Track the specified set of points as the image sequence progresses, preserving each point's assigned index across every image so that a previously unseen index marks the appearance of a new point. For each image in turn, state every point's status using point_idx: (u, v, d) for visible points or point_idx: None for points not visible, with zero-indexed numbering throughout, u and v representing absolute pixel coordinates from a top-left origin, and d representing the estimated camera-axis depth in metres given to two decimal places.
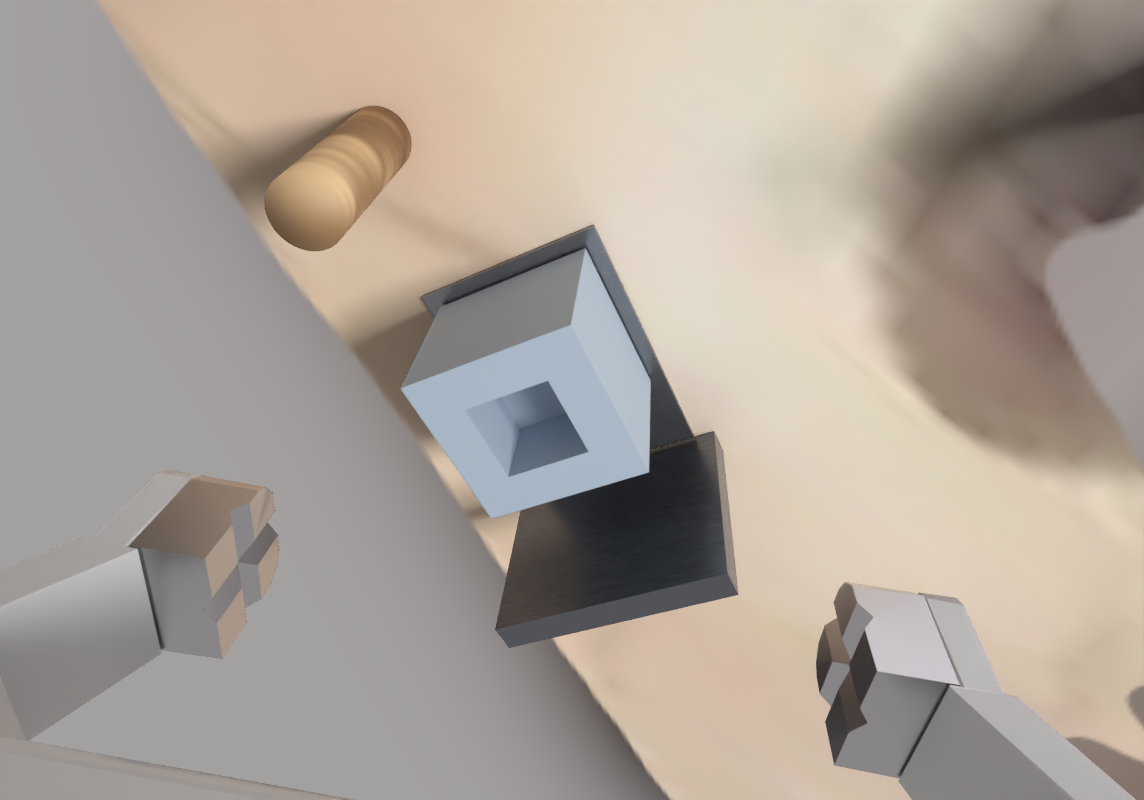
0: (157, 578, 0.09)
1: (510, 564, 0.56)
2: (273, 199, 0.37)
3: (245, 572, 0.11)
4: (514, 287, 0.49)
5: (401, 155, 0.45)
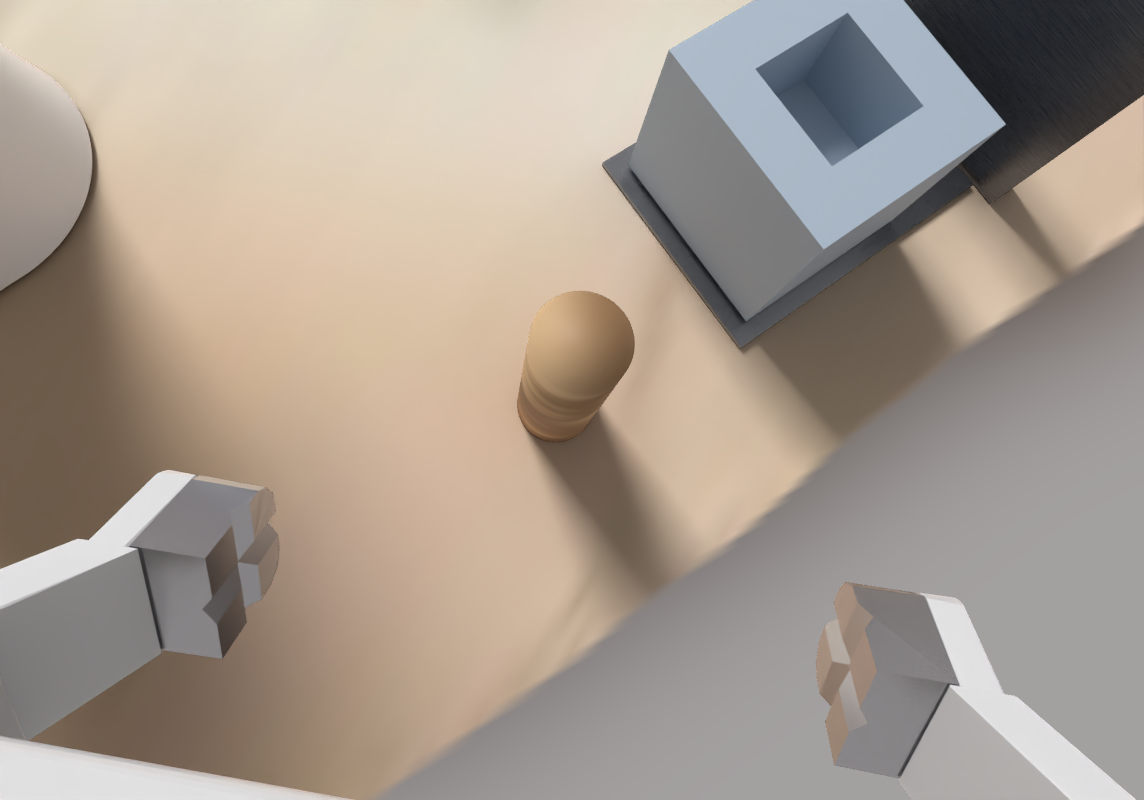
0: (157, 578, 0.09)
1: (1094, 126, 0.38)
2: (572, 381, 0.29)
3: (245, 572, 0.11)
4: (688, 219, 0.41)
5: None
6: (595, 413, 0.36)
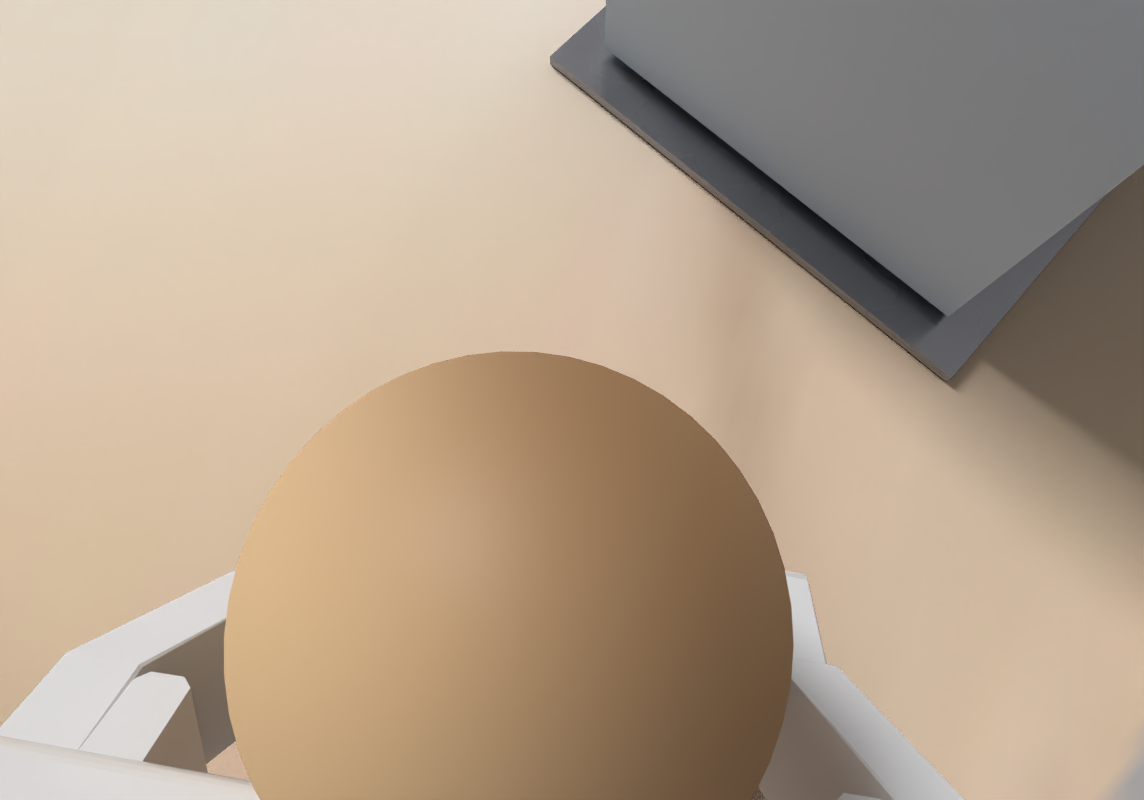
0: None
1: None
2: None
3: None
4: (765, 116, 0.17)
5: None
6: None
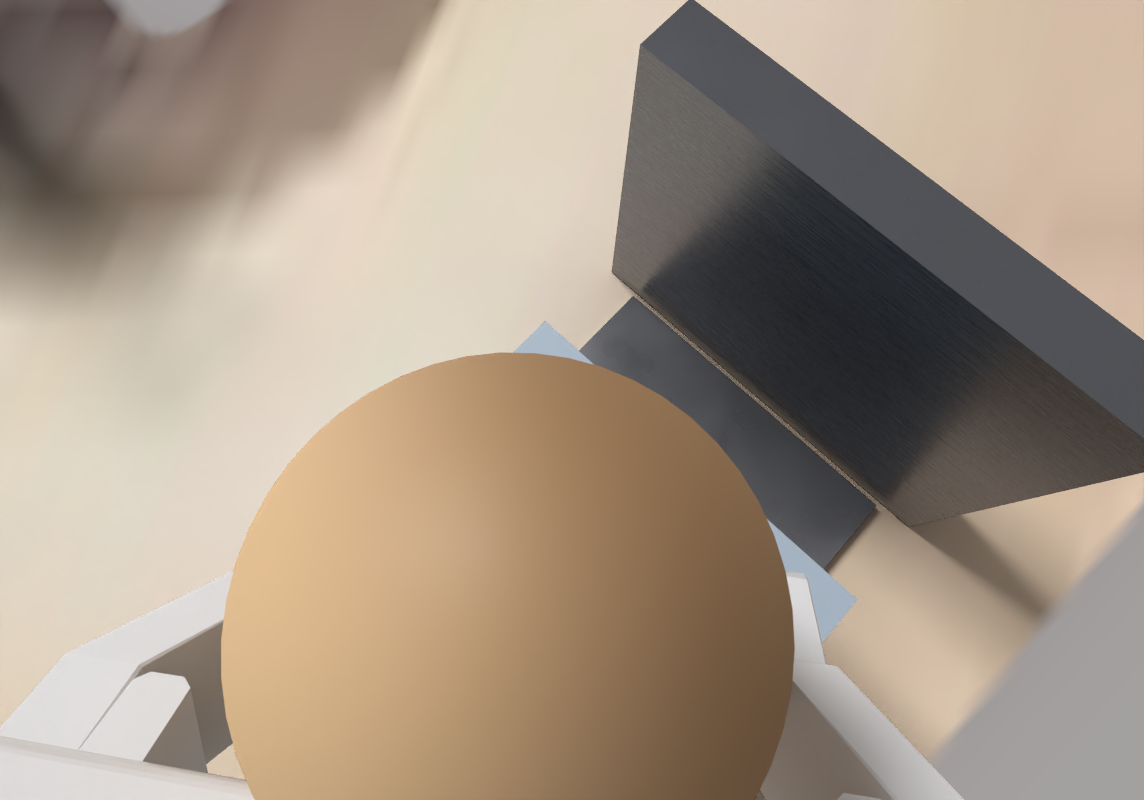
0: None
1: (1024, 496, 0.23)
2: None
3: None
4: None
5: None
6: None
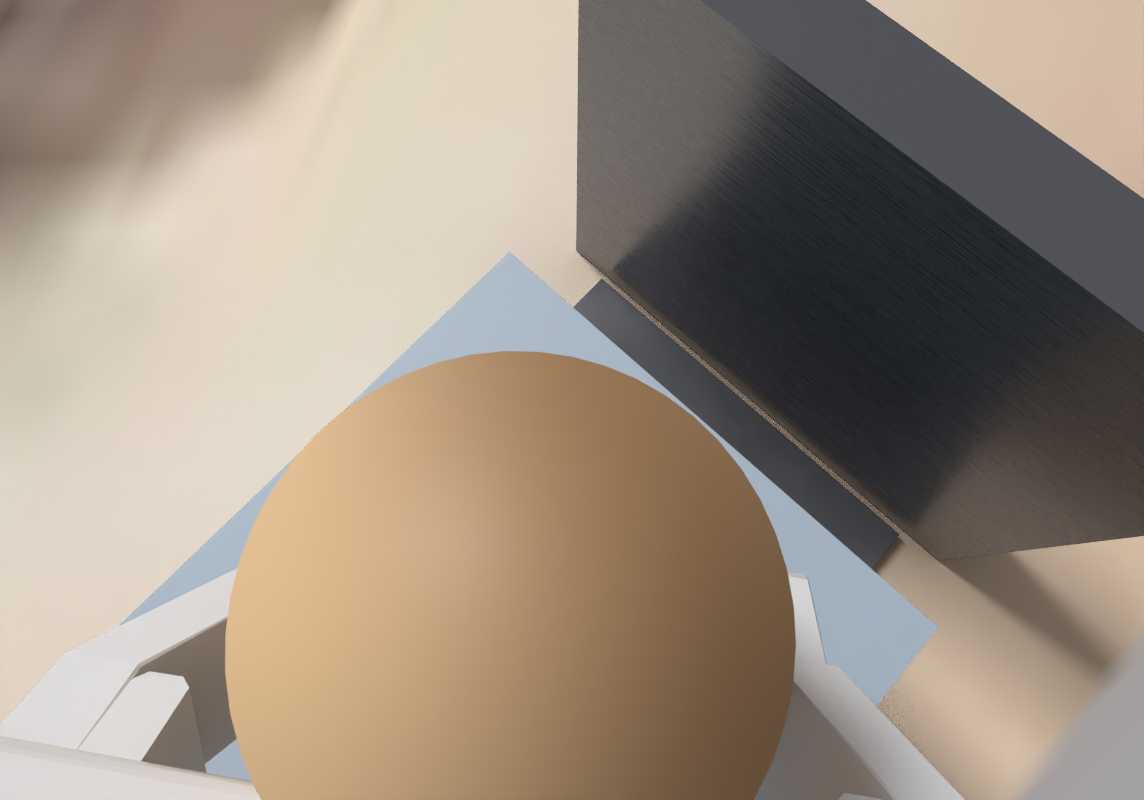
0: None
1: (1107, 535, 0.17)
2: None
3: None
4: None
5: None
6: None
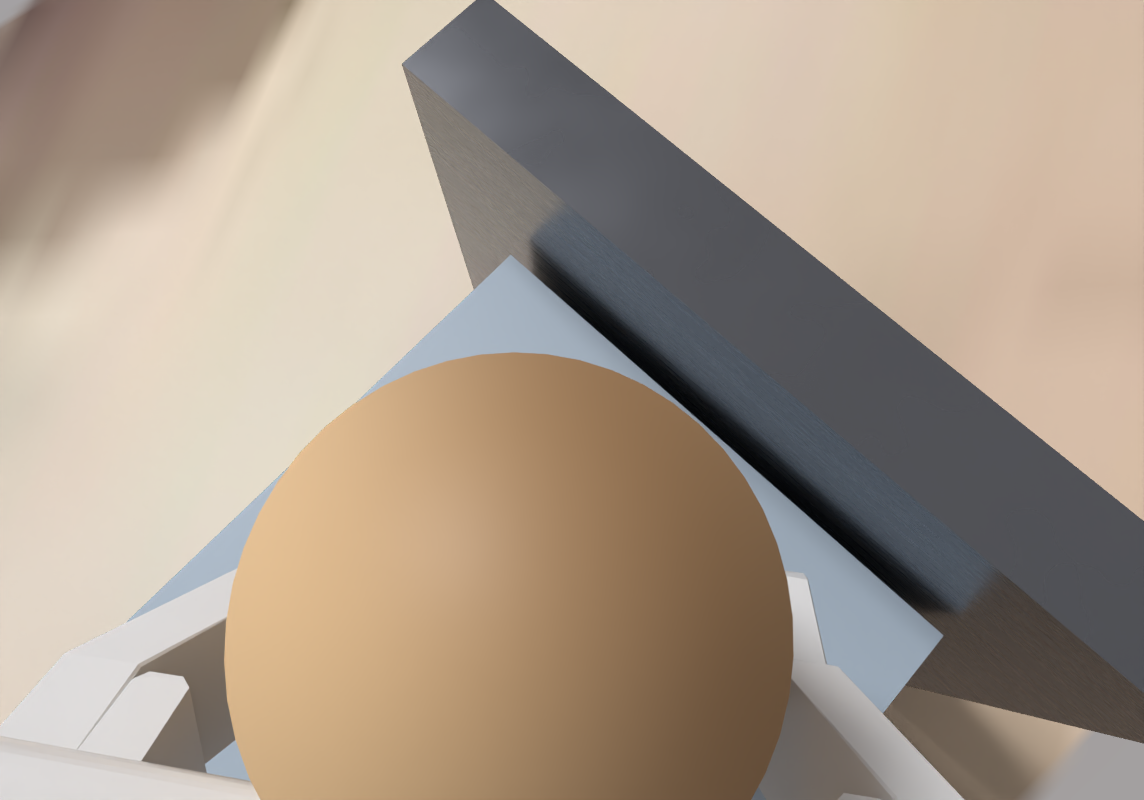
0: None
1: (993, 703, 0.16)
2: None
3: None
4: None
5: None
6: None
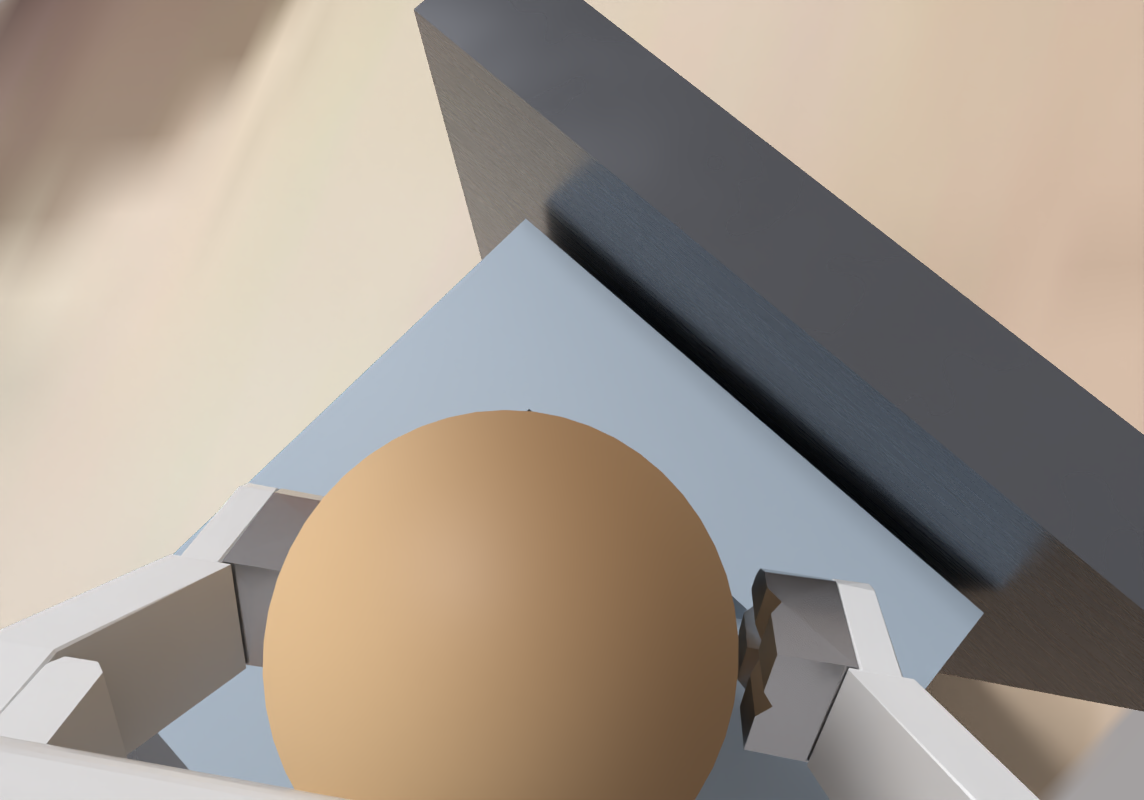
0: (248, 593, 0.09)
1: (1031, 686, 0.15)
2: None
3: None
4: None
5: None
6: None
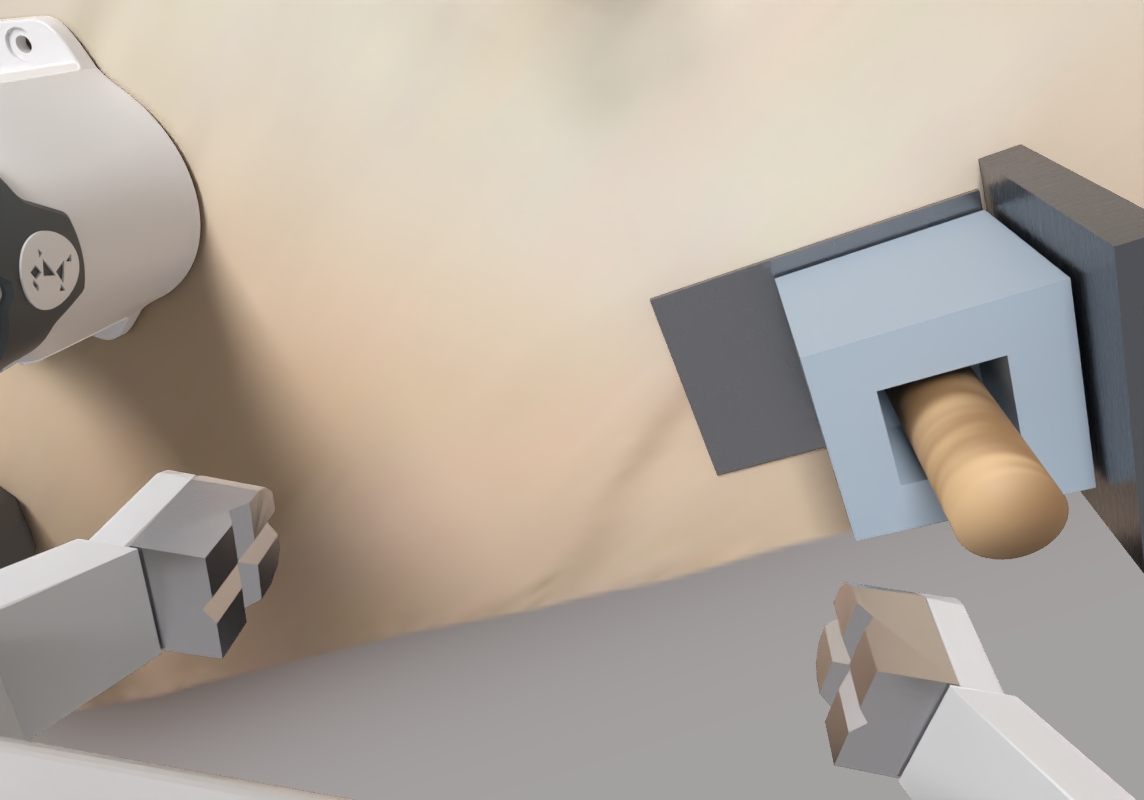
0: (157, 578, 0.09)
1: (1084, 495, 0.39)
2: (979, 545, 0.30)
3: (244, 572, 0.11)
4: None
5: None
6: None
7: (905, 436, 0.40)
